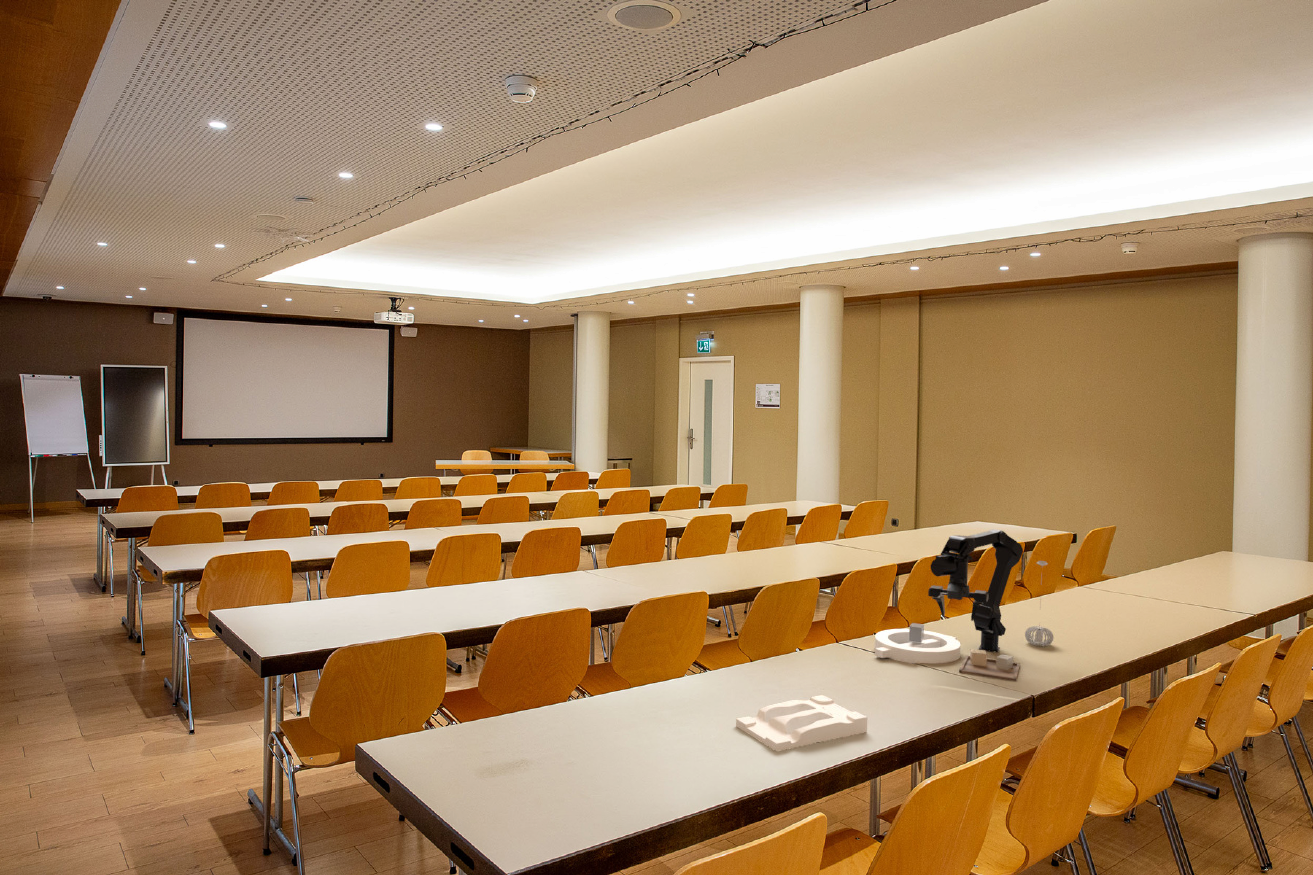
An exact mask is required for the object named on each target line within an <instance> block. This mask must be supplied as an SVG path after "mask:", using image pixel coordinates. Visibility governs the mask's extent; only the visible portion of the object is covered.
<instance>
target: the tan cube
mask: <svg viewBox="0 0 1313 875" xmlns="http://www.w3.org/2000/svg"><path fill="white" fill-rule="evenodd" d="M969 650H970V651H969V652H970V653H969V654H970V655H969V656H970V662H971V664H972V665H980V666H986V665H987V659H988V658H987V657H988V653H987V651H985V650H979V649H973V648H971V649H969Z"/></svg>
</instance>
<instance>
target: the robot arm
mask: <svg viewBox="0 0 1313 875" xmlns="http://www.w3.org/2000/svg"><path fill="white" fill-rule="evenodd" d="M988 545H991V546H992V547H993V548H994V549H995V552H994V553H995V554H994V557H995V560H996V565H995V568H994V572H993V574H992V576H991V580H990V584H989V587H988V590H987V591H986V590H979V589H976V590H975V591H974V592H973V591H972V592H971V591H970V585H968V580H969V578H968V576H969V572H968V571H969V561H971V560H973V557H972V556H971V555H970V554H971V553H973V552H974V551H975V550H976V549H978V548H981V547H985V546H988ZM1023 552H1024V549H1023V546H1022V544H1020V543H1019V541H1017V540H1015V539H1014V538H1013V537H1011V536H1010V535H1008V534H1007V533H1006V532H1005V531H1004V530H1000V529H990V530H988V531H983V532H979V533H975V534H971V535H958V534H956V535H953V534H952V535H950V536H949V537H948V540H947V542H946V543H945V545H944V546H943V549H942V551H941V552H940V554H939V555H935V559H933V560H932V562H931V563H930V571H931V573H932V574H933V575H934V576H935V577H945V576H949V582H948V584H947V588H945V589H944V586H942V585H931V586H930V587H929V588H928V590H927V591H928V592H927V594H928V595H927V596H928V597H931V598H932V600H935V601H936V603H937V605H938V607H939V610H940V614H941V617H942V618H945V614H946V608H945V596H946V598H947V599H950V600H952V599H953V600H958V601H961V600H963V599H964V598H966V599H968V598H969V599H973V602H972V609H971V616H970V621H971V622H973V624H974V628H975V631H979V632H980V645H979V647H978V650H985V652H992V653H999V652H1000V649H1001V647H1000V646H999V641H1000V640H999V637H1002V636H1004V635H1005V632H1006V630H1007V628H1006V627H1005V626H1004V624H1003V623H1002V622H1001V618H1002V614H1001V612H1002V611H1001V609H1000V605H1001V603H1002V599H1003V595H1004V593H1005V591H1006V590H1005V589H1006V587H1007V584H1008V581H1009V578H1010V574H1011V571H1012V569H1013V567H1015V566H1016V565H1018V563H1019V562H1020V559H1021V557H1022V555H1023V554H1024V553H1023Z"/></svg>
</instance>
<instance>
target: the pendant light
mask: <svg viewBox="0 0 1313 875" xmlns="http://www.w3.org/2000/svg"><path fill="white" fill-rule="evenodd" d="M1036 564H1037V565H1039V566H1041V567H1044V566H1047V565H1048V564H1049V563H1047V561H1044V560H1038V561H1037V562H1036ZM1042 575H1043V574H1041V580H1040V584H1042V579H1043V576H1042ZM1039 602H1040V603H1039V605H1040V606H1039V609H1041V605H1042V604H1041V602H1042V598H1040V601H1039ZM1034 633H1035V635H1034ZM1024 637H1025V639H1026V641H1027V642H1028V643H1029V644H1031V645H1033V646H1036V647H1047V646H1049V645H1051V644H1052V643H1053V641H1054V634H1053V632H1052V631H1051V630H1050V629H1049V628H1047V627H1043V626H1041V623H1039V626H1037V625H1034V626H1030V627H1028V628H1027V629H1025V632H1024ZM1043 639H1044V640H1043Z"/></svg>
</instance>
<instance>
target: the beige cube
mask: <svg viewBox="0 0 1313 875" xmlns="http://www.w3.org/2000/svg"><path fill="white" fill-rule="evenodd" d="M995 660H996V668H1000V669H1004V670H1008V669H1011V668H1013V662H1014V656H1012V655H1007V654H1003V653H1002V654H999V655H998V656H996V658H995Z"/></svg>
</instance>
